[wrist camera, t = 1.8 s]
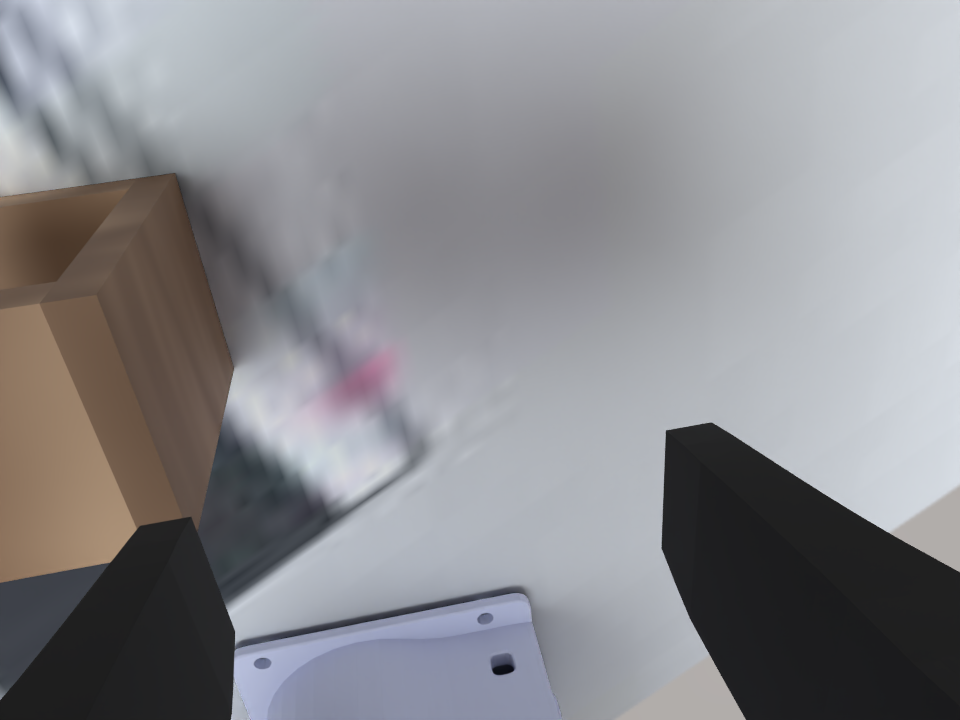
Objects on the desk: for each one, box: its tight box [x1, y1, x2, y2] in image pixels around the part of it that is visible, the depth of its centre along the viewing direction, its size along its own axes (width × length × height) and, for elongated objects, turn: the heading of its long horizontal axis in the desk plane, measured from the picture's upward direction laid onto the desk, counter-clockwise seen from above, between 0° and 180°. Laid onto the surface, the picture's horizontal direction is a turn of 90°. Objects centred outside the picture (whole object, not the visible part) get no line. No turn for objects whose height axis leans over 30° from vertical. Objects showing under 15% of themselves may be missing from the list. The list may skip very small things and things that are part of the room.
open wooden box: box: [0, 173, 234, 582], centre depth 15 cm, size 4×5×6 cm
